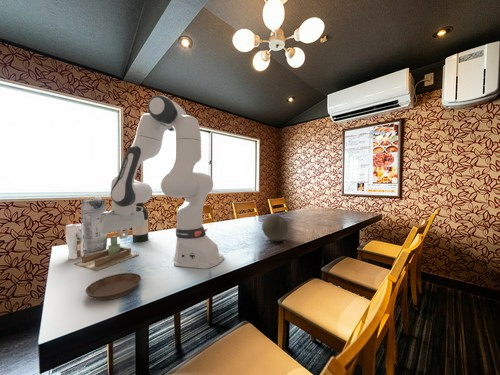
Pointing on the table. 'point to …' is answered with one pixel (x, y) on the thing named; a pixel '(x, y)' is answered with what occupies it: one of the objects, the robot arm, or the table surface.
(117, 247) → the bottle
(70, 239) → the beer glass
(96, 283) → the saucer
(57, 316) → the table surface
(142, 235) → the wine bottle
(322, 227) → the table surface
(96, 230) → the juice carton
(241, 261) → the table surface
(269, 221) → the cantaloupe
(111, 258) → the cradle
